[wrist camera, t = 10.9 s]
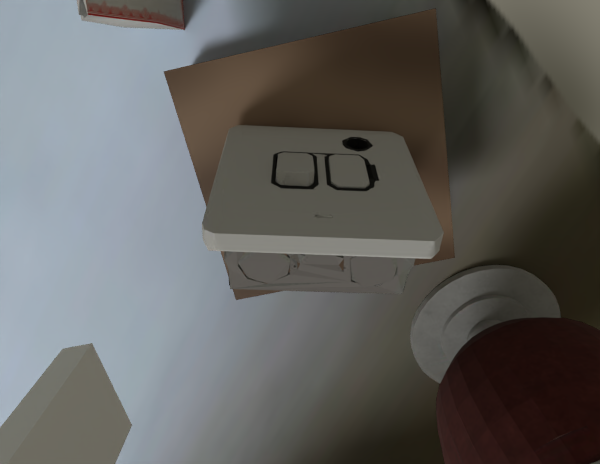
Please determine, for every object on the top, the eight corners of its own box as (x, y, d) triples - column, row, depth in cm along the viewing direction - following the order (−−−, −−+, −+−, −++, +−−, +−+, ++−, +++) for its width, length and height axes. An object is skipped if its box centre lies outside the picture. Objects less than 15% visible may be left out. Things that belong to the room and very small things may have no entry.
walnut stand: (426, 222, 32) (454, 257, 26) (245, 258, 32) (236, 299, 27) (405, 18, 26) (435, 8, 21) (189, 68, 27) (163, 71, 22)
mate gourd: (546, 228, 32) (892, 462, 14) (580, 359, 37) (866, 662, 19) (358, 303, 34) (434, 592, 16) (413, 418, 39) (521, 738, 21)
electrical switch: (401, 130, 23) (460, 199, 15) (387, 215, 25) (431, 314, 17) (229, 122, 23) (192, 188, 15) (232, 208, 25) (202, 306, 17)
